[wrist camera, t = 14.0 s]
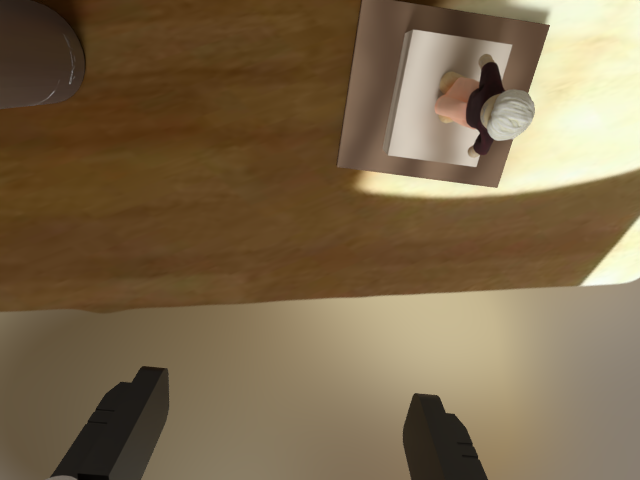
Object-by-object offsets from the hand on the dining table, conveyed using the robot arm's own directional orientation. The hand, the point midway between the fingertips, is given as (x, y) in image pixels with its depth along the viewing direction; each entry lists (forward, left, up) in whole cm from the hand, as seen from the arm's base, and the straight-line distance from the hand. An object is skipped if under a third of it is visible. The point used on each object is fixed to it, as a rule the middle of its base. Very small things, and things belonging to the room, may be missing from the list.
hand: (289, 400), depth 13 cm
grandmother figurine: (+13, +9, -29) cm, 33 cm away
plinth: (+12, +9, -33) cm, 36 cm away
